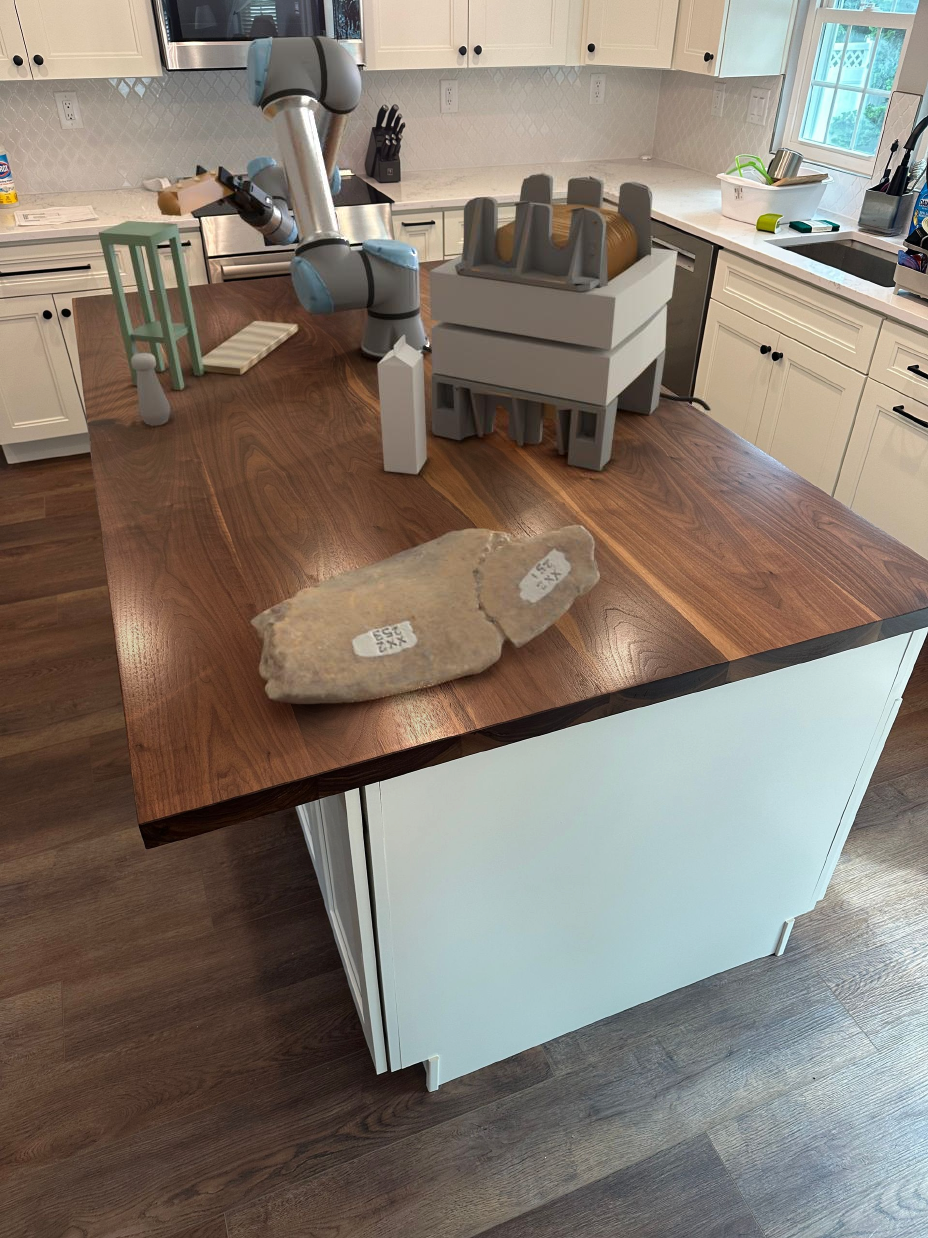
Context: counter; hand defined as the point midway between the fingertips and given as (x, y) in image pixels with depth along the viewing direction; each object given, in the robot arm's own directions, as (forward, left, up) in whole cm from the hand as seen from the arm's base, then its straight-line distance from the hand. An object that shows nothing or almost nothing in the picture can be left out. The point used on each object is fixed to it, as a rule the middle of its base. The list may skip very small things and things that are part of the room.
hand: (208, 172), depth 189 cm
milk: (-77, +16, -36) cm, 86 cm away
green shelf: (-11, +24, -36) cm, 44 cm away
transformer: (-82, -16, -36) cm, 91 cm away
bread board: (-8, +1, -36) cm, 36 cm away
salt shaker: (-29, +37, -36) cm, 59 cm away
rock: (-114, +46, -36) cm, 127 cm away
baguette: (-3, +5, -5) cm, 7 cm away
